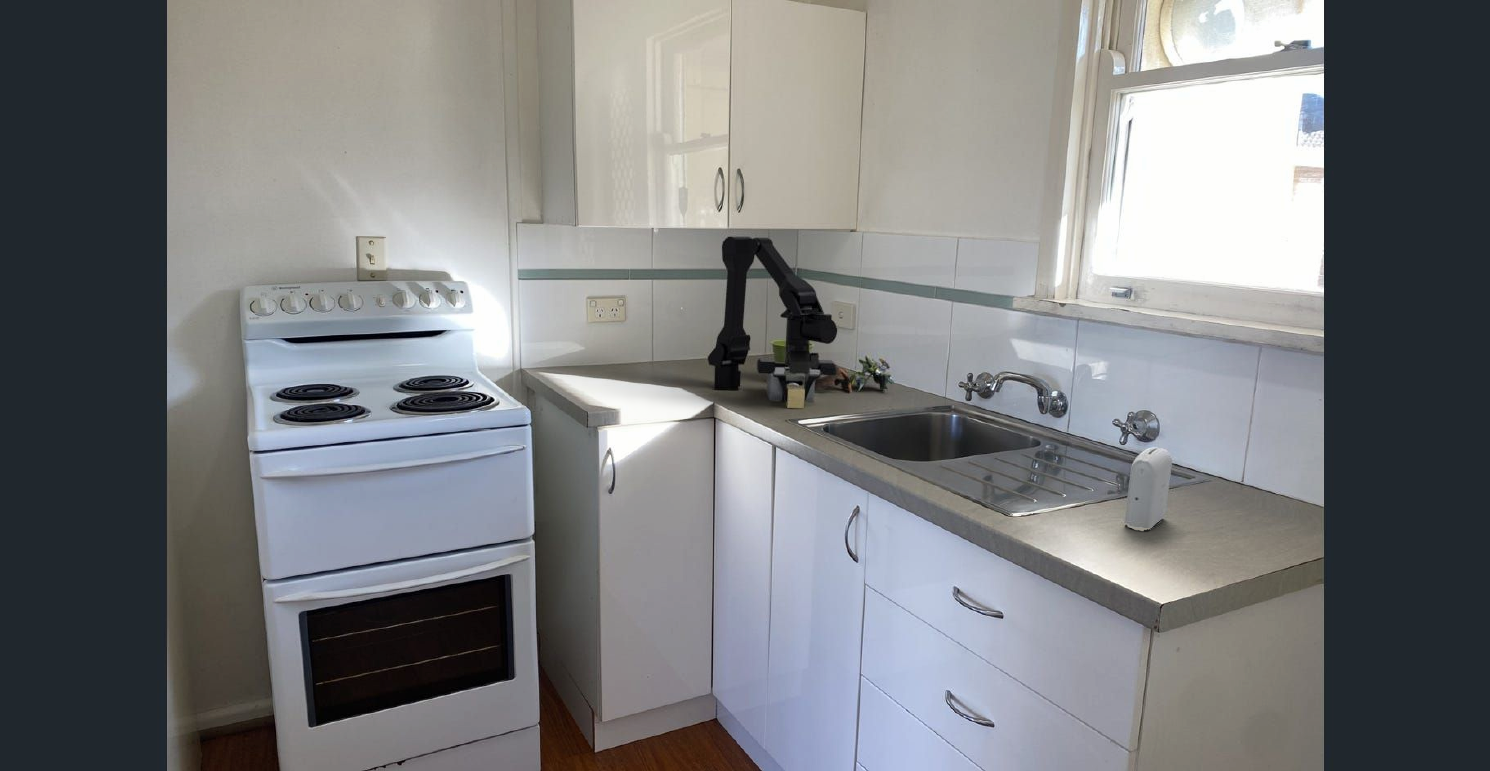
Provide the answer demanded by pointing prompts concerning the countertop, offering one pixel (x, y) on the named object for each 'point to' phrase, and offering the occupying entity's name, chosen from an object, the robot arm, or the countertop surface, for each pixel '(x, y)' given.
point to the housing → (774, 384)
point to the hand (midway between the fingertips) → (794, 401)
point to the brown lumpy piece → (834, 380)
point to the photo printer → (1148, 488)
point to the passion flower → (872, 373)
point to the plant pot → (782, 350)
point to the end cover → (795, 395)
